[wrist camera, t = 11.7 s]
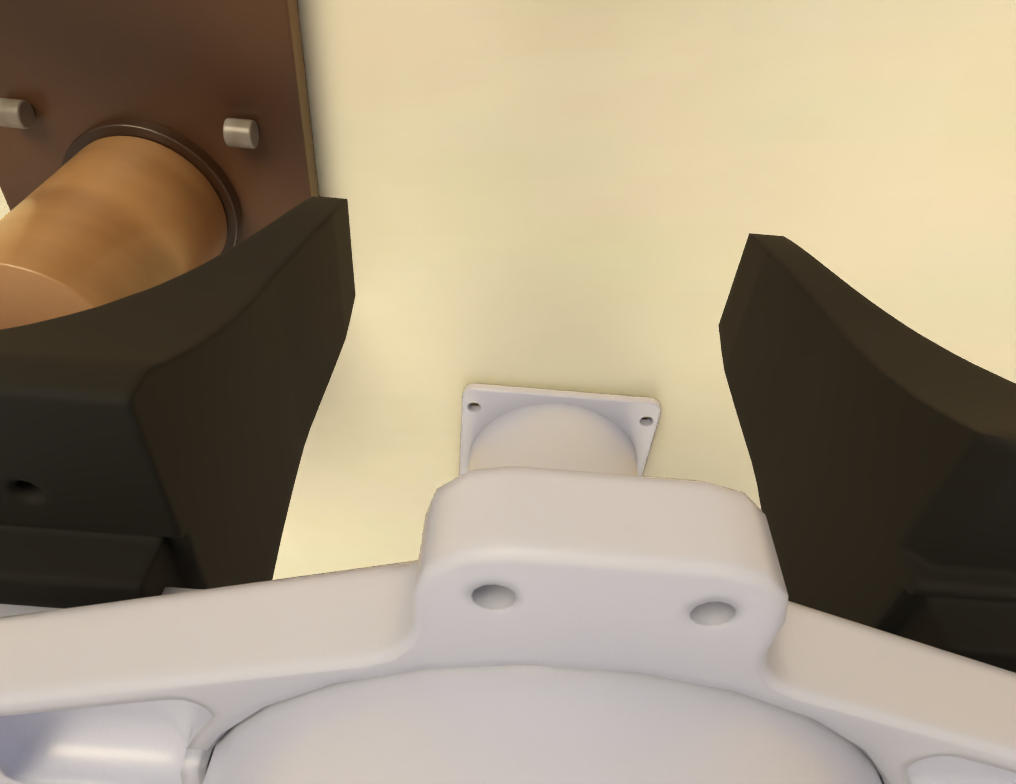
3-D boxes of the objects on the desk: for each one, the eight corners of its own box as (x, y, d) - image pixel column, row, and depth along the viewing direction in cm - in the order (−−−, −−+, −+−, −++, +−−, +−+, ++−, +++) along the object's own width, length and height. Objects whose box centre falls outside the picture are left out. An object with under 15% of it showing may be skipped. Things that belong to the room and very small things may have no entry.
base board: (331, 295, 26) (319, 324, 25) (56, 272, 26) (30, 301, 25) (266, -280, 16) (240, -283, 15) (-188, -325, 16) (-256, -331, 15)
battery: (255, 280, 25) (167, 439, 19) (98, 266, 25) (-37, 423, 19) (225, 126, 21) (106, 266, 16) (41, 110, 21) (-146, 244, 16)
